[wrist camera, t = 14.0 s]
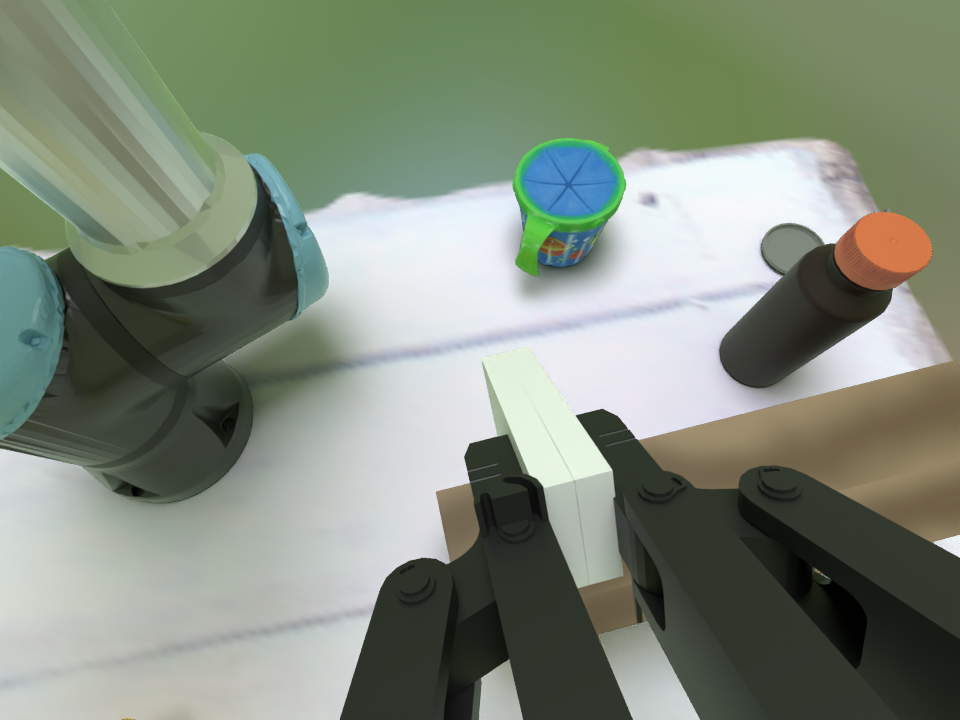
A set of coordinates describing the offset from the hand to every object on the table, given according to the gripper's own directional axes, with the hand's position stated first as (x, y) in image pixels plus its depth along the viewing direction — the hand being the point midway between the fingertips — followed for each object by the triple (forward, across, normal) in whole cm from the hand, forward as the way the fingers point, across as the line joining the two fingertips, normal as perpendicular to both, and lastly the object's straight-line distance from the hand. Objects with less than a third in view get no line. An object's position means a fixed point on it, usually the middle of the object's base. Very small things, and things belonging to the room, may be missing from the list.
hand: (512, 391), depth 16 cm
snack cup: (+43, +14, -6) cm, 45 cm away
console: (+20, +14, -27) cm, 37 cm away
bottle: (+30, +29, -19) cm, 45 cm away
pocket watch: (+36, +38, -12) cm, 54 cm away
